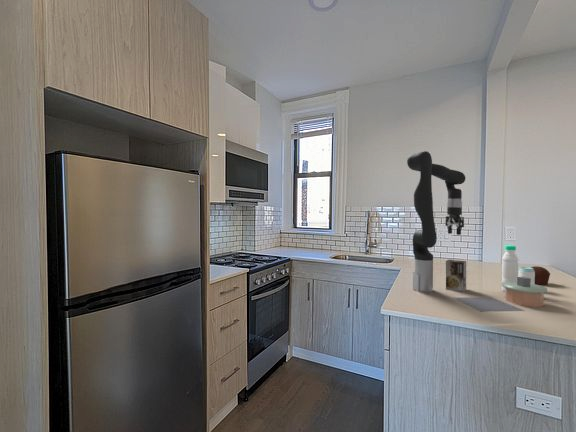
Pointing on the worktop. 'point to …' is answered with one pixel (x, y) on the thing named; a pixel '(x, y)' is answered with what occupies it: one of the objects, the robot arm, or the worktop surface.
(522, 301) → the bowl
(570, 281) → the worktop surface
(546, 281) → the muffin
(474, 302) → the mat
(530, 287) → the lid
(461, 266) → the coffee box
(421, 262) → the robot arm
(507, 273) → the water bottle
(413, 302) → the worktop surface
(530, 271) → the can
